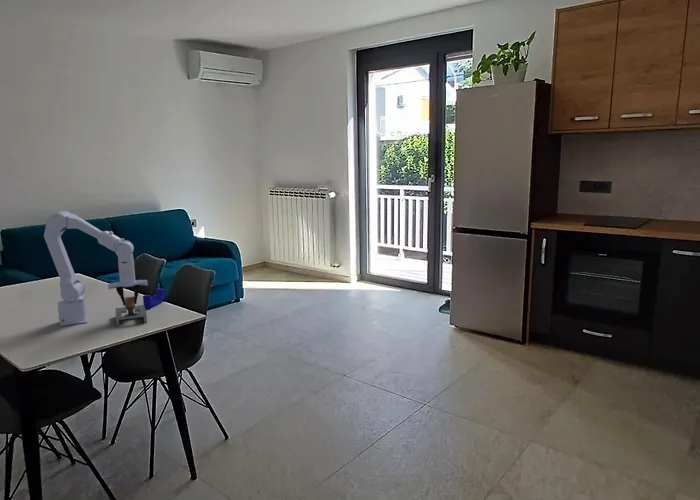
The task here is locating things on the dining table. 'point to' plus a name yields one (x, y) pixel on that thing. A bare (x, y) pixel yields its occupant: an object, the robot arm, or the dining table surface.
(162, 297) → the blue curved bracket
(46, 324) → the dining table surface
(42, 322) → the dining table surface
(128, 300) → the peg
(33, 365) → the dining table surface
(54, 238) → the robot arm
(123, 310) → the notched window frame
